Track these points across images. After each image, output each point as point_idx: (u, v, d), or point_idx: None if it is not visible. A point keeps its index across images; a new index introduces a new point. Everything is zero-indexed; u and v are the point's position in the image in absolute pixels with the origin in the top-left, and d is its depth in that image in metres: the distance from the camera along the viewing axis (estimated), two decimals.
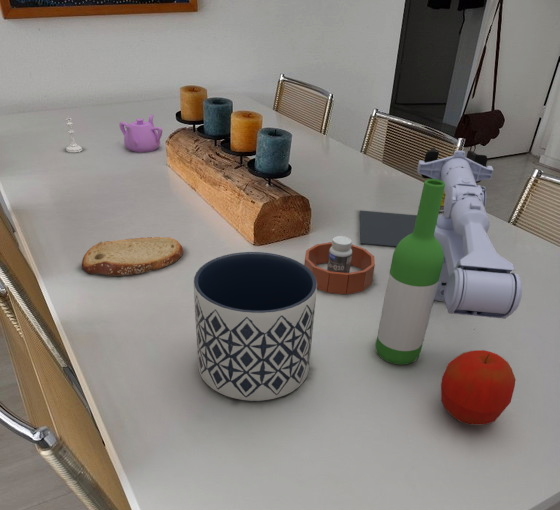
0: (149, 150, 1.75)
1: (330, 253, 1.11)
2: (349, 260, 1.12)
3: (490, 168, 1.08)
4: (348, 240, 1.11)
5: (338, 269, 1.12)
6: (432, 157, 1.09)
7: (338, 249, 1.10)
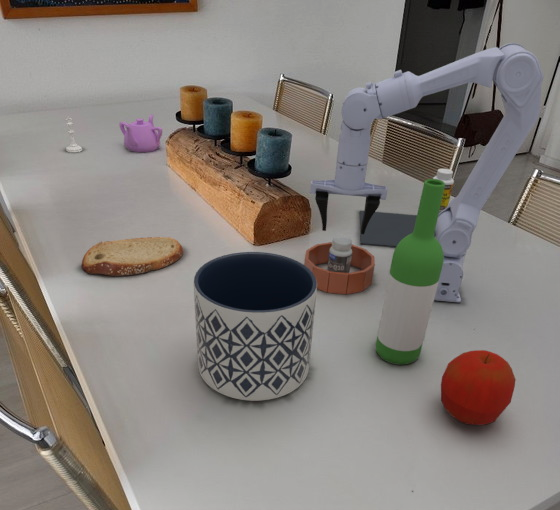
0: (149, 150, 1.75)
1: (330, 253, 1.11)
2: (349, 260, 1.12)
3: None
4: (348, 240, 1.11)
5: (338, 269, 1.12)
6: None
7: (338, 249, 1.10)
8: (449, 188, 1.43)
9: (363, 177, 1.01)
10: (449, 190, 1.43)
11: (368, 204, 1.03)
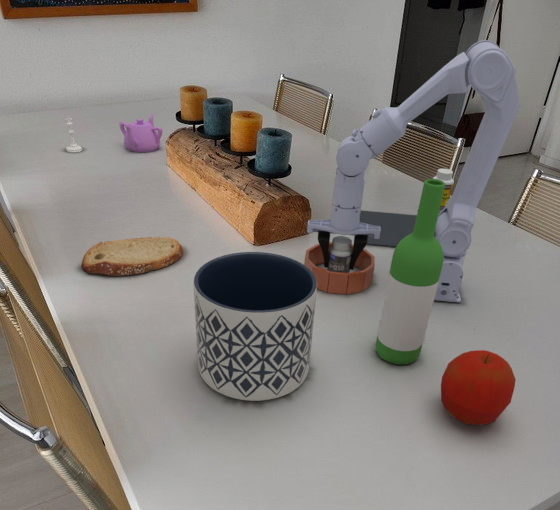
0: (149, 150, 1.75)
1: (330, 253, 1.11)
2: (349, 260, 1.12)
3: None
4: (348, 240, 1.11)
5: (338, 269, 1.12)
6: None
7: (338, 249, 1.10)
8: (449, 188, 1.43)
9: (357, 218, 1.06)
10: (449, 190, 1.43)
11: (356, 243, 1.08)
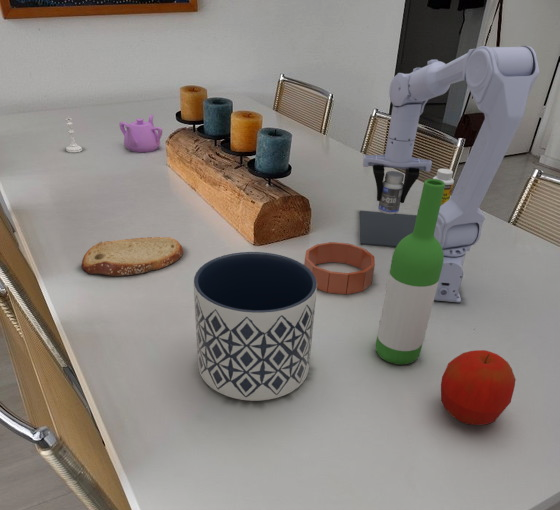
0: (149, 150, 1.75)
1: (383, 186, 1.20)
2: (400, 193, 1.21)
3: None
4: (400, 174, 1.20)
5: (391, 202, 1.21)
6: None
7: (391, 182, 1.19)
8: (449, 188, 1.43)
9: (411, 151, 1.15)
10: (449, 190, 1.43)
11: (409, 175, 1.17)
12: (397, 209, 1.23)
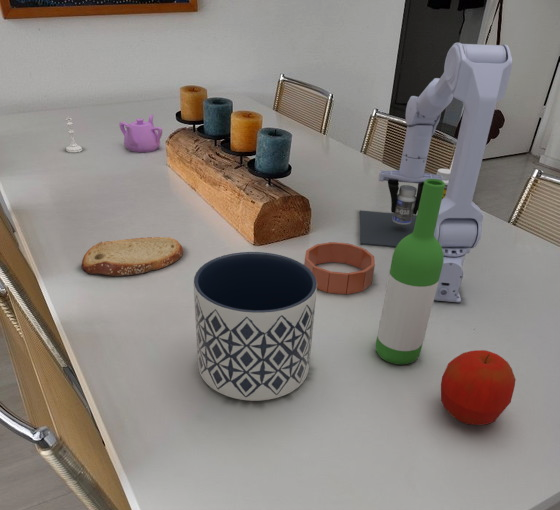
0: (149, 150, 1.75)
1: (397, 199, 1.30)
2: (413, 205, 1.30)
3: None
4: (413, 188, 1.29)
5: (404, 214, 1.31)
6: None
7: (405, 195, 1.29)
8: None
9: (424, 167, 1.25)
10: None
11: (422, 189, 1.26)
12: (410, 220, 1.33)
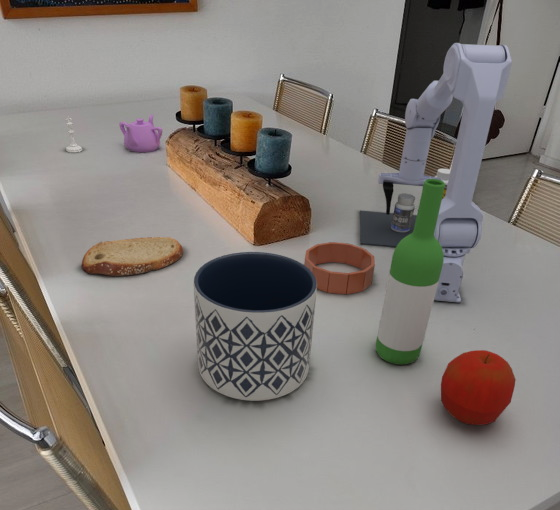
0: (149, 150, 1.75)
1: (396, 207, 1.31)
2: (412, 213, 1.32)
3: None
4: (412, 196, 1.31)
5: (403, 222, 1.32)
6: None
7: (403, 203, 1.30)
8: None
9: (423, 170, 1.25)
10: None
11: None
12: (408, 228, 1.34)
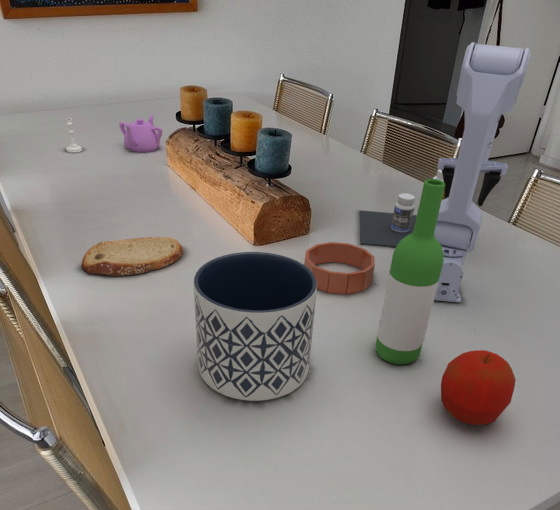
0: (149, 150, 1.75)
1: (396, 207, 1.31)
2: (412, 213, 1.32)
3: None
4: (412, 196, 1.31)
5: (403, 222, 1.32)
6: None
7: (403, 203, 1.30)
8: None
9: (488, 154, 1.16)
10: None
11: (491, 178, 1.17)
12: (408, 228, 1.34)
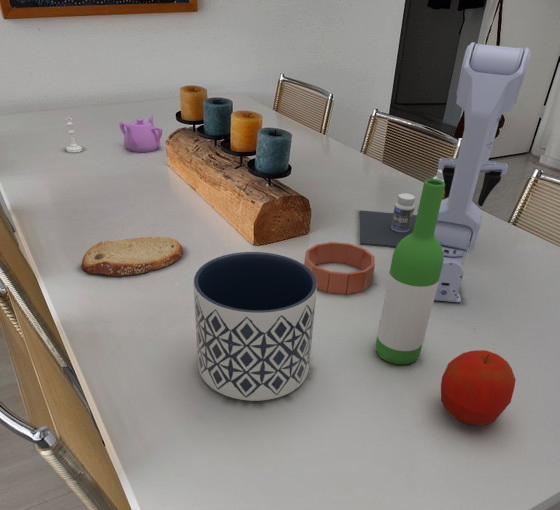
0: (149, 150, 1.75)
1: (396, 207, 1.31)
2: (412, 213, 1.32)
3: None
4: (411, 196, 1.31)
5: (403, 222, 1.32)
6: None
7: (403, 203, 1.30)
8: None
9: (489, 155, 1.16)
10: None
11: (491, 178, 1.17)
12: (408, 228, 1.34)
